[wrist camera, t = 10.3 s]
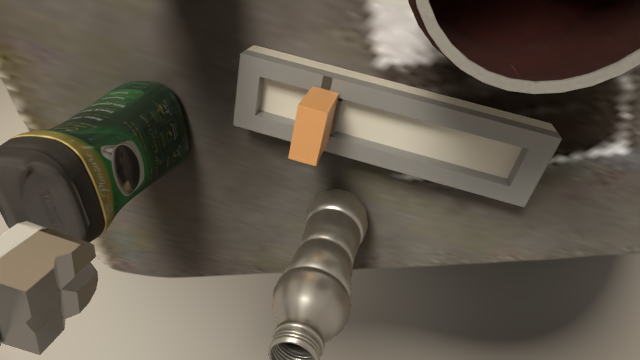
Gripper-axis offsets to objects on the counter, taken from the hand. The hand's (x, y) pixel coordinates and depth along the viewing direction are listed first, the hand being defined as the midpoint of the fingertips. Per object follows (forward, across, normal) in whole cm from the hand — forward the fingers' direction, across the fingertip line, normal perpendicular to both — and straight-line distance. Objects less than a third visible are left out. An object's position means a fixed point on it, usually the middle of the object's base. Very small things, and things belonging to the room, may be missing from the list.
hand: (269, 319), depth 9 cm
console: (+33, -2, +7) cm, 34 cm away
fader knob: (+31, +4, +7) cm, 32 cm away
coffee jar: (+33, +22, +15) cm, 43 cm away
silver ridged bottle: (+33, 0, +19) cm, 38 cm away
